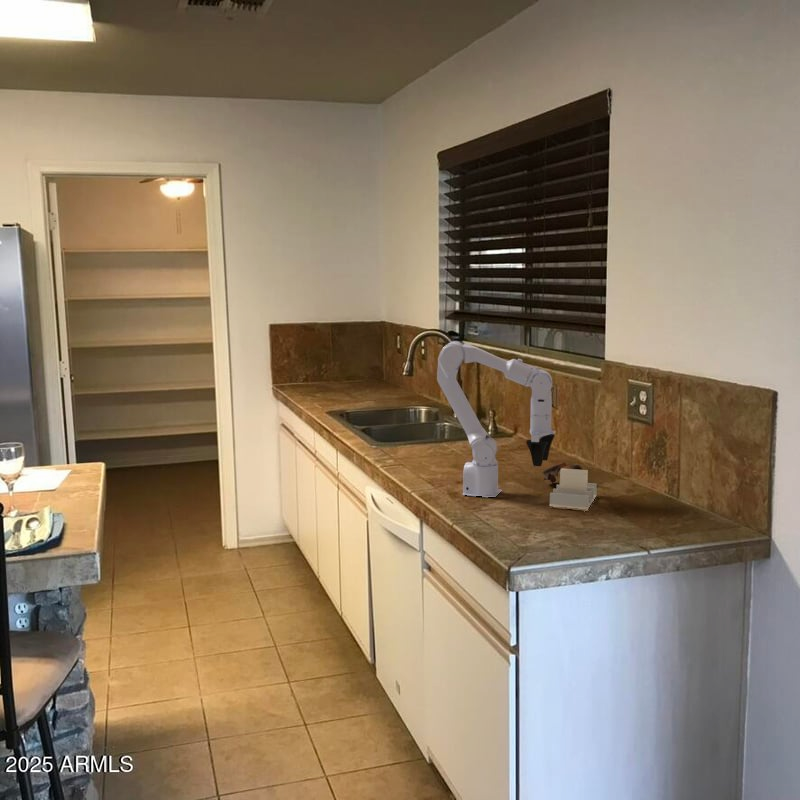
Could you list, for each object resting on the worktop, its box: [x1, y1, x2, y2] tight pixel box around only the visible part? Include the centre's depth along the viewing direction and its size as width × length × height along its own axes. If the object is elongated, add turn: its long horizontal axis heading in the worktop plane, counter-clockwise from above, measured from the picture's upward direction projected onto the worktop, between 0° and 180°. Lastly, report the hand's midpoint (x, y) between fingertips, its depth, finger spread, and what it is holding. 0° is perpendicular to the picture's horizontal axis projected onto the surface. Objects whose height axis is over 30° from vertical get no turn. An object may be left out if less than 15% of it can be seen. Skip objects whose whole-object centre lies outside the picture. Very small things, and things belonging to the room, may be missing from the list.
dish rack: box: [549, 482, 598, 511], centre depth 233 cm, size 10×15×4 cm, turn 159°
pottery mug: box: [542, 461, 584, 483], centre depth 252 cm, size 12×10×8 cm
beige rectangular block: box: [559, 468, 589, 491], centre depth 233 cm, size 7×2×8 cm, turn 69°
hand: (540, 462), depth 240 cm, fingers open, 7 cm apart
